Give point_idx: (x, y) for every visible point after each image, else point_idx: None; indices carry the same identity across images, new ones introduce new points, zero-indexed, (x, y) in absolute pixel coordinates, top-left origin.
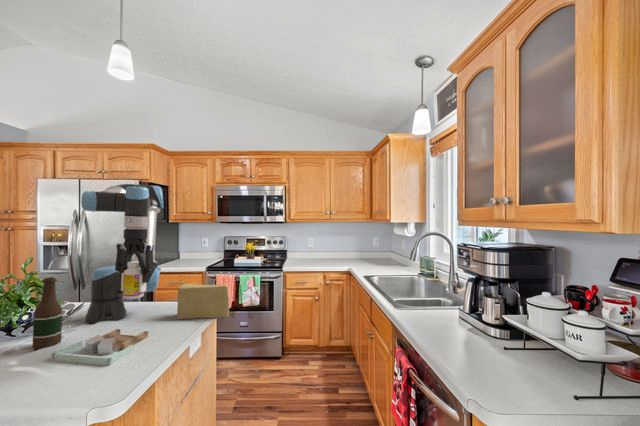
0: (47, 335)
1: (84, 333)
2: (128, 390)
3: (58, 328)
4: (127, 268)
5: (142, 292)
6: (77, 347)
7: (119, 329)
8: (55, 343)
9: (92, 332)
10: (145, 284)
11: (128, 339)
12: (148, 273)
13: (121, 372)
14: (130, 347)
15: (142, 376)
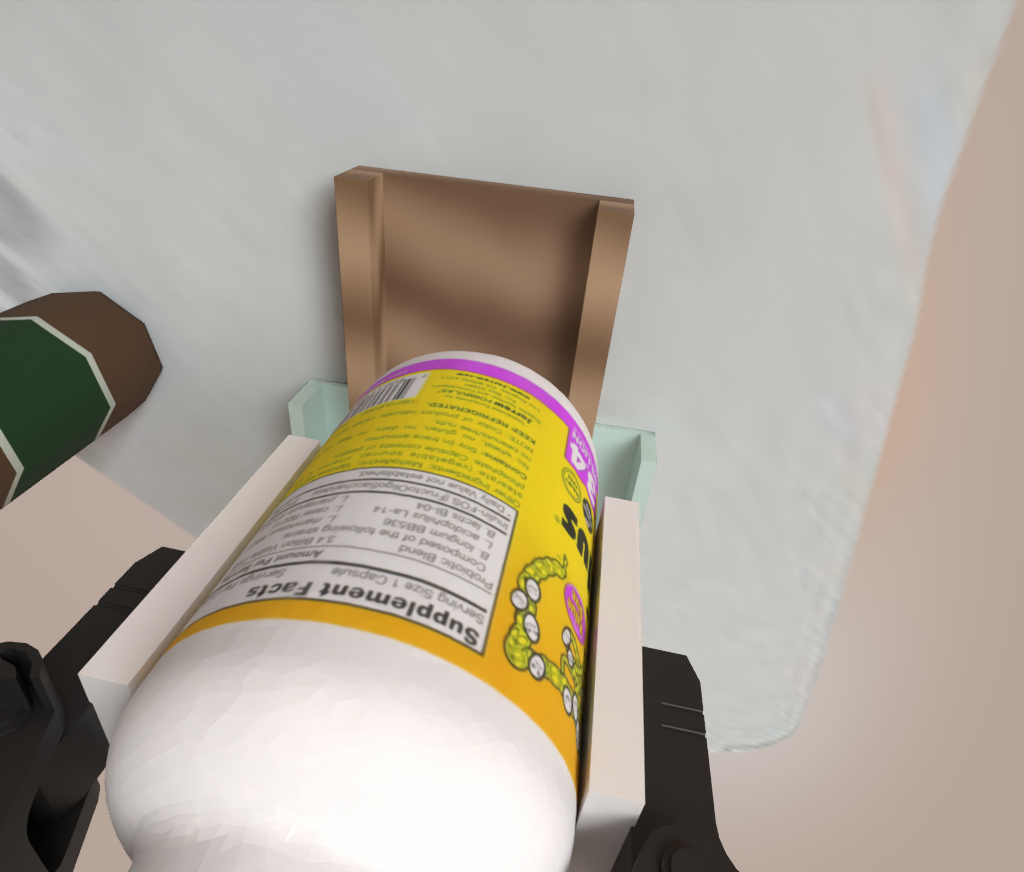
0: (98, 429)
1: (72, 112)
2: (796, 693)
3: (76, 394)
4: (25, 788)
5: (596, 509)
6: (316, 421)
7: (362, 185)
8: (146, 370)
9: (103, 82)
10: (635, 597)
11: (512, 269)
12: (723, 850)
13: (698, 590)
14: (651, 482)
15: (812, 622)
